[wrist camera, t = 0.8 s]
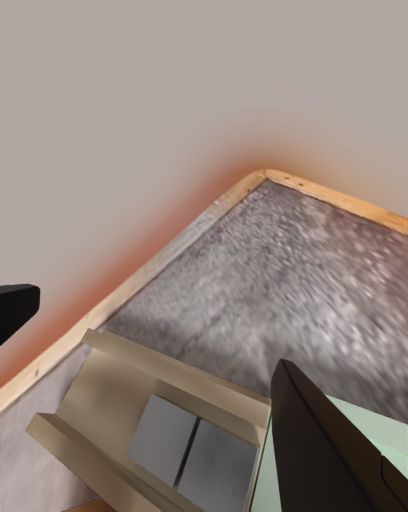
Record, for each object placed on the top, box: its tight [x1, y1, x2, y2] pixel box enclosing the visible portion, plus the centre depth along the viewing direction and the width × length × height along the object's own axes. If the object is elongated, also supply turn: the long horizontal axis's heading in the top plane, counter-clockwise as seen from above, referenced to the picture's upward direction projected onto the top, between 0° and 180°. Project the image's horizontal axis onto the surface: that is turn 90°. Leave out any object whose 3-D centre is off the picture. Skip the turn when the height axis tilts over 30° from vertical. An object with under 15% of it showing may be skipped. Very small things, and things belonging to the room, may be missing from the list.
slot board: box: [25, 328, 271, 512], centre depth 17 cm, size 9×16×3 cm, turn 67°
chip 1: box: [125, 394, 204, 488], centre depth 16 cm, size 4×4×2 cm
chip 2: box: [177, 419, 261, 512], centre depth 14 cm, size 4×4×2 cm
